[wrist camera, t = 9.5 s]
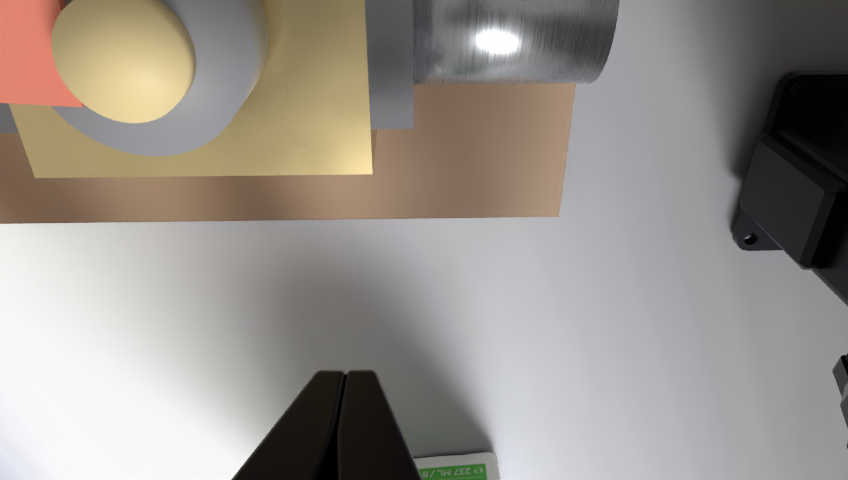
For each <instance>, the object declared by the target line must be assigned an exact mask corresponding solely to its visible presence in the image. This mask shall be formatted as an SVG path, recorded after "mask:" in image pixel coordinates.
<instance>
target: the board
mask: <svg viewBox="0 0 848 480" xmlns="http://www.w3.org/2000/svg"><path fill="white" fill-rule="evenodd" d="M575 85H576V83H571V84H446V85H413V89H414V129H377V139H376V148H375V157H374V167H373V174H358V175H267V176H176V177H86V178H35V176H34V174H33V171H32V168H31V165H30V162H29V160H28V157H27V154H26V151H25V148H24V145H23V143H22V140H21V137H20V134H19V133H0V224H11V223H90V222H170V221H249V220H329V219H409V218H488V217H559V211H560V203H561V195H562V187H563V179H564V171H565V164H566V156H567V148H568V140H569V132H570V124H571V116H572V109H573V101H574V93H575Z"/></svg>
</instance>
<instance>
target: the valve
mask: <svg viewBox="0 0 848 480" xmlns="http://www.w3.org/2000/svg"><path fill="white" fill-rule="evenodd" d="M261 3H262V5H263V8H264V12H265V16H266V20H267V28H268V51H267V58H266V62H265V65H264V69H263V71H262V74H261V76H260V78H259V80H258V82H257V84H256V85H255V87H254V88H253V90H252V91H251V93H250V94H249V96H248V97H247V99H246V100H245V101H244V103H243V104H242V106H241V107H240V109H239V110H238V112H237V113H236V115H235V116H234V117H233V119H232V120H231V122H230V123H229V124H228V125H227V127H226V128H225V129H224V130H223V131H222V132H221V133H220V134H219V135H217V136H216V137H215V138H214V139H213V140H211V141H209V142H208V143H206V144H205V145H203V146H201V147H199V148H196V149H194V150H192V151H189V152H185V153H181V154H178V155H170V156H143V155H135V154H131V153H126V152H122V151H119V150H116V149H113V148H110V147H108V146H106V145H104V144H101V143H99V142H97V141H95V140H93V139H92V138H90V137H88V136H86V135H85V134H83V133H81V132H80V131H79V130H77V129H76V128H74V127H73V126H72V125H70V124H69V123H68V122H67V121H66V120H65V119H63V118H62V117H61V116H60V115H59V114H58V113H57V112H56V111H55V110H54V109H53V108H52V107H51V106H48V105H29V104H11V103H0V133H19V134H20V137H21V140H22V143H23V145H24V148H25V151H26V154H27V157H28V160H29V162H30V165H31V168H32V171H33V174H34V176H35V178H86V177H176V176H267V175H358V174H373V167H374V157H375V148H376V139H377V129H414V89H413V85H446V84H571V83H592V82H594V81H595V80H596V79H597V78H598V77H599V75H600V74H601V72H602V70H603V68H604V66H605V63H606V61H607V58H608V55H609V52H610V49H611V45H612V41H613V37H614V33H615V28H616V22H617V16H618V9H619V0H261Z"/></svg>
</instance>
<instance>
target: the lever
mask: <svg viewBox="0 0 848 480" xmlns="http://www.w3.org/2000/svg"><path fill="white" fill-rule="evenodd" d="M267 51H268V28H267V20H266V16H265V12H264V8H263V5H262V3H261V0H0V103H11V104H29V105H48V106H51V107H52V108H53V109H54V110H55V111H56V112H57V113H58V114H59V115H60V116H61V117H62V118H63V119H65V120H66V121H67V122H68V123H69V124H70V125H72V126H73V127H74V128H76V129H77V130H79V131H80V132H81V133H83V134H85V135H86V136H88V137H90V138H92V139H93V140H95V141H97V142H99V143H101V144H104V145H106V146H108V147H110V148H113V149H116V150H119V151H122V152H126V153H131V154H135V155H143V156H170V155H178V154H181V153H185V152H189V151H192V150H194V149H196V148H199V147H201V146H203V145H205V144H206V143H208V142H209V141H211V140H213V139H214V138H215V137H216V136H217V135H219V134H220V133H221V132H222V131H223V130H224V129H225V128H226V127H227V125H228V124H229V123H230V122H231V120H232V119H233V117H234V116H235V115H236V113H237V112H238V110H239V109H240V107H241V106H242V104H243V103H244V101H245V100H246V99H247V97H248V96H249V94H250V93H251V91H252V90H253V88H254V87H255V85H256V84H257V82H258V80H259V78H260V76H261V74H262V71H263V69H264V65H265V62H266V58H267Z"/></svg>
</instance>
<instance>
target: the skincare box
mask: <svg viewBox="0 0 848 480" xmlns="http://www.w3.org/2000/svg"><path fill="white" fill-rule="evenodd" d="M414 460H415V463H416V465H417V467H418V470H419V472H420V474H421V476H422V479H423V480H500V475H499V468H498V462H497V457H496V455H495V454H493V453H491V452H484V453H474V454H467V455H452V456H437V457H426V458H417V459H414Z"/></svg>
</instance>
